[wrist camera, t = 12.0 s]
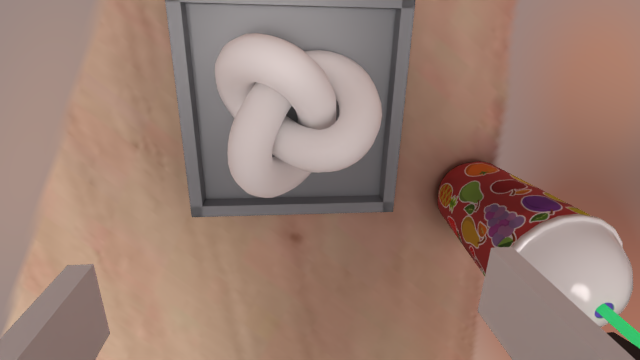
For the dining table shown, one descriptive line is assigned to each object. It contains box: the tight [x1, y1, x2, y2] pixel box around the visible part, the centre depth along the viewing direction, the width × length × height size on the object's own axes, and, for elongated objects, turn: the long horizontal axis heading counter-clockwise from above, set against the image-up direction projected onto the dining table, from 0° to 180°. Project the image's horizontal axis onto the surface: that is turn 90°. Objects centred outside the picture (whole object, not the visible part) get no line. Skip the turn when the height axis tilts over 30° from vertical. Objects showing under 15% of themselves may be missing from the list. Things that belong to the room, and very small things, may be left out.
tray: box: [165, 0, 415, 217], centre depth 31 cm, size 18×18×2 cm
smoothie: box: [438, 161, 640, 349], centre depth 28 cm, size 8×8×20 cm
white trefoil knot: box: [215, 33, 382, 198], centre depth 27 cm, size 11×12×9 cm
